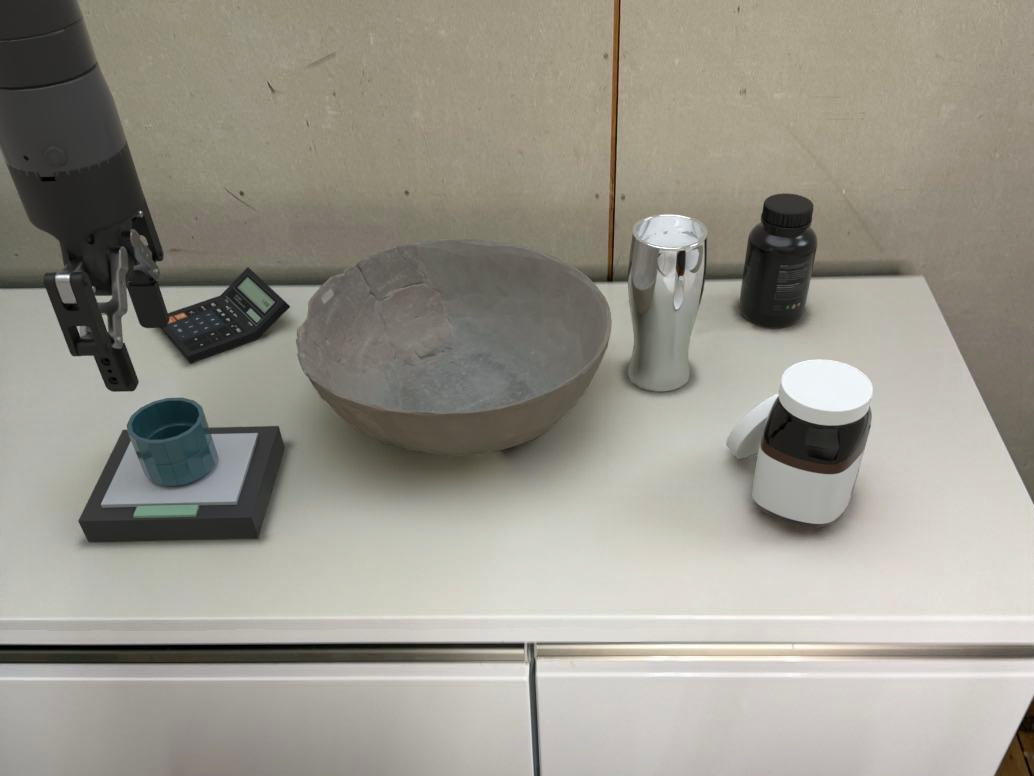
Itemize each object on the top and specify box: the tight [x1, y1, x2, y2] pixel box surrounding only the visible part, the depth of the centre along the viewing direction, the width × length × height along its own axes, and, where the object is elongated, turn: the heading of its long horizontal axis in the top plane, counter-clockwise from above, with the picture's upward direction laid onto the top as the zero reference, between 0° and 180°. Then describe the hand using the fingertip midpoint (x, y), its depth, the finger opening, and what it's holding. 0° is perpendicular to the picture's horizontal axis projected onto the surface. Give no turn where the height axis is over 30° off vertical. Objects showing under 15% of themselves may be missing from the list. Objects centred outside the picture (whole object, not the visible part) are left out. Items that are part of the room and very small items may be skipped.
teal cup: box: [126, 397, 218, 487], centre depth 79 cm, size 6×6×5 cm
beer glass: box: [627, 213, 709, 393], centre depth 89 cm, size 7×7×15 cm
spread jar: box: [725, 358, 874, 528], centre depth 78 cm, size 12×11×12 cm
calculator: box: [159, 266, 291, 365], centre depth 101 cm, size 9×12×3 cm
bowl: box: [295, 238, 613, 457], centre depth 88 cm, size 28×28×10 cm
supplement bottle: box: [738, 192, 819, 328], centre depth 98 cm, size 7×7×12 cm
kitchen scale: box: [77, 425, 285, 543], centre depth 82 cm, size 14×12×3 cm
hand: (140, 356), depth 73 cm, fingers open, 8 cm apart
